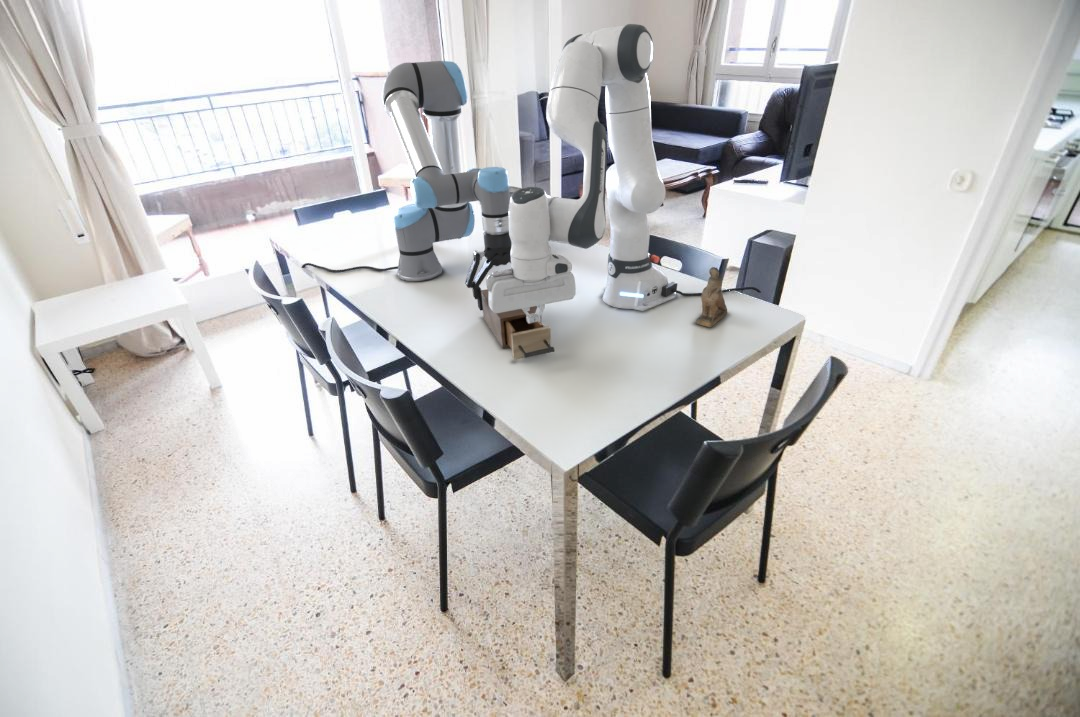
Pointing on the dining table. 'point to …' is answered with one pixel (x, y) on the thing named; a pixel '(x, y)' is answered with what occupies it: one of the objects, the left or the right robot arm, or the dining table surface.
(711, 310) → the worn brown figurine
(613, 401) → the dining table surface
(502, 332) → the cabinet
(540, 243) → the right robot arm
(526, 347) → the drawer
